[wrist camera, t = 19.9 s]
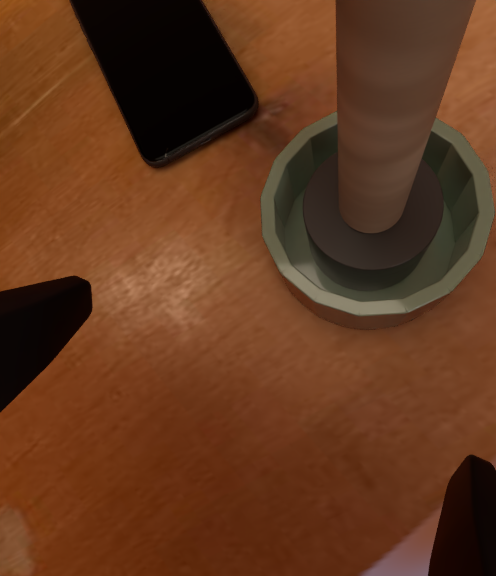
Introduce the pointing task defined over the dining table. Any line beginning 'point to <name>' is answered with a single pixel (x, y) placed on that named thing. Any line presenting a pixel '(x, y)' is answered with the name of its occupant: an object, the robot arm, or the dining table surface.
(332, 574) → the dining table surface
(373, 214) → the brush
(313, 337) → the dining table surface
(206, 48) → the smartphone
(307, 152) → the pale green bowl
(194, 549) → the dining table surface
